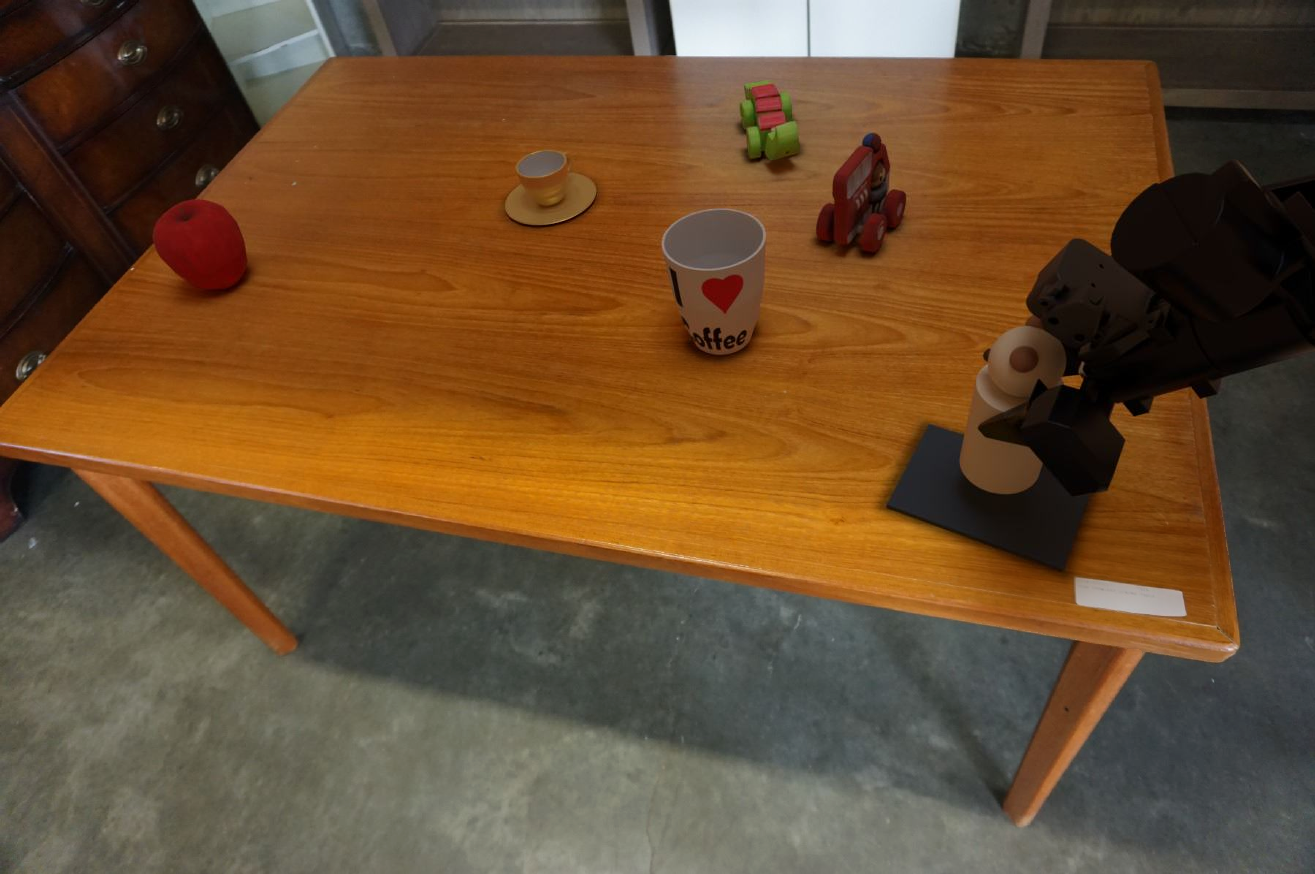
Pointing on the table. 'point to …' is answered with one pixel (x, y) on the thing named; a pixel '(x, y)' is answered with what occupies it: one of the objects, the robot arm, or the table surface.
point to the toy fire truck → (862, 198)
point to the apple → (201, 244)
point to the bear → (1009, 406)
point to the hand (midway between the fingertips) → (995, 402)
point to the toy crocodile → (768, 121)
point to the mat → (988, 504)
